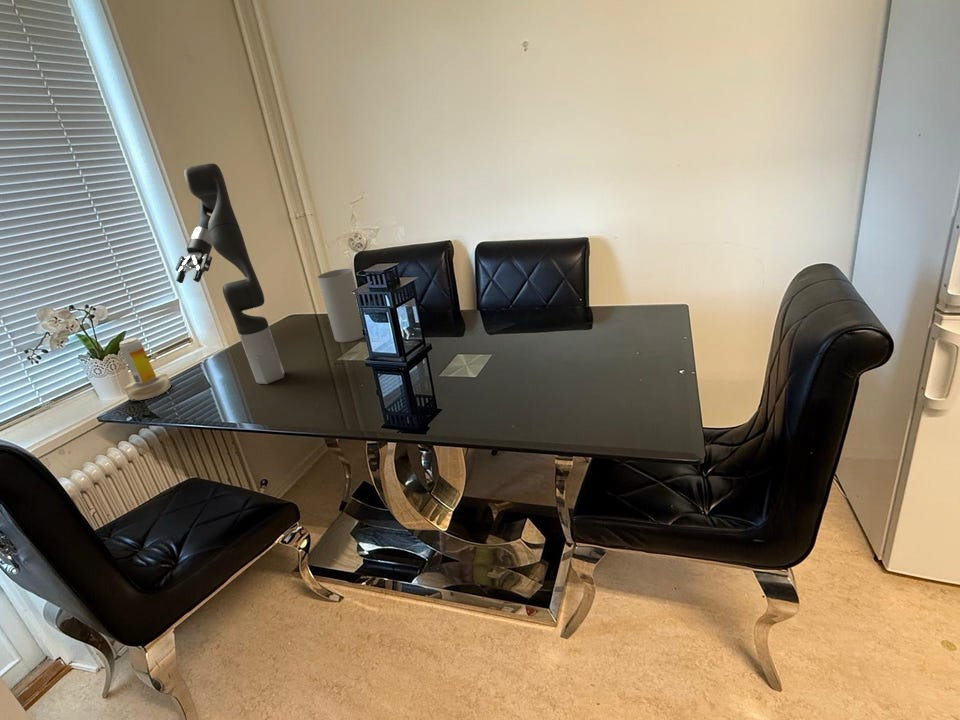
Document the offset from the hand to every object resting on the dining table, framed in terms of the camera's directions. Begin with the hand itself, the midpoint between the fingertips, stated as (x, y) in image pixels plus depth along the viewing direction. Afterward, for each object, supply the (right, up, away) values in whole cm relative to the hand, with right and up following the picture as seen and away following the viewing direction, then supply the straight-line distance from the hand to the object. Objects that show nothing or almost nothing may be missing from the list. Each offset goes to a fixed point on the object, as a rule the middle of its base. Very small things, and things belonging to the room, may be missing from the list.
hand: (187, 281), depth 188 cm
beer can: (-7, -36, -12) cm, 38 cm away
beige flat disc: (-7, -39, -10) cm, 41 cm away
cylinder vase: (+57, -20, +11) cm, 61 cm away
